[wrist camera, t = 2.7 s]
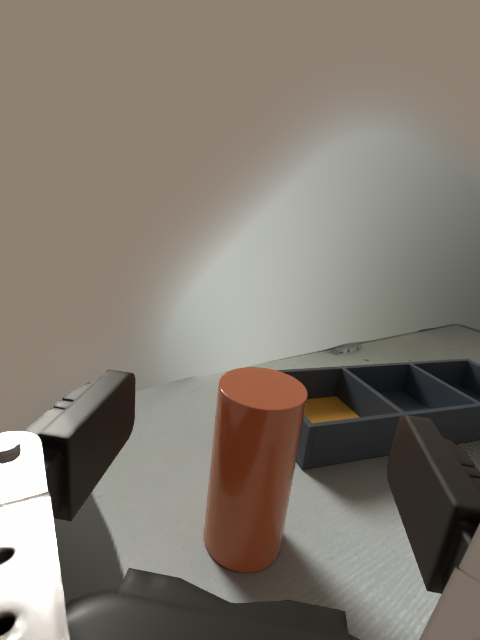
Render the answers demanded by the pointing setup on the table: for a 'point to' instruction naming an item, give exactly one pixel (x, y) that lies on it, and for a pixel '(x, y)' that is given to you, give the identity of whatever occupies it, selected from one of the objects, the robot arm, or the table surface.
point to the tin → (252, 466)
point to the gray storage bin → (383, 406)
